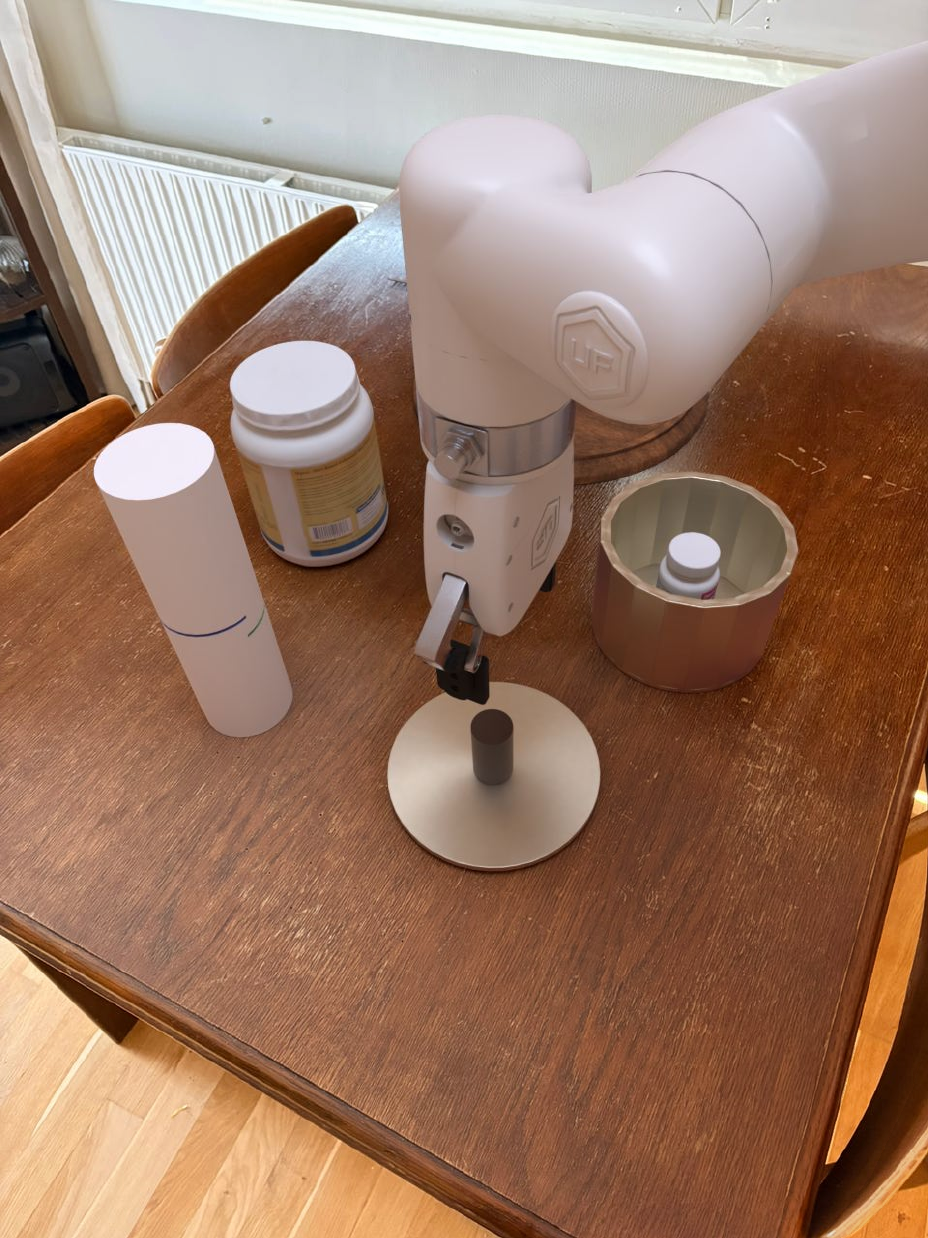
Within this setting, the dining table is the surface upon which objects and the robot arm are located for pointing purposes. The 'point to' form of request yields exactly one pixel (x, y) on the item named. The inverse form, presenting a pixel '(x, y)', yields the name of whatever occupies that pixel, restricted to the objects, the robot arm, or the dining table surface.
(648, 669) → the pot
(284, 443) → the supplement tub
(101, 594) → the dining table surface
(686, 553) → the pill bottle
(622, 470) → the cutting board
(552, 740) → the lid
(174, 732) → the dining table surface
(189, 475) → the cylindrical container
